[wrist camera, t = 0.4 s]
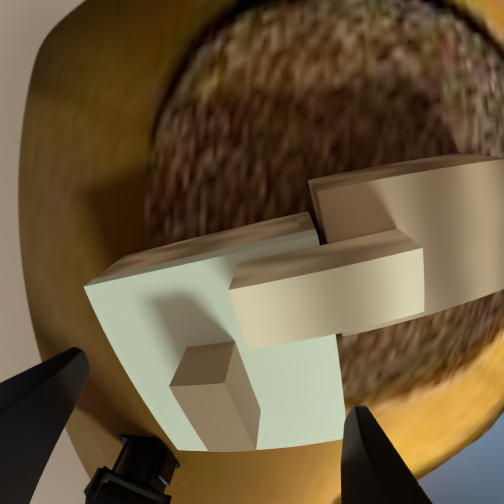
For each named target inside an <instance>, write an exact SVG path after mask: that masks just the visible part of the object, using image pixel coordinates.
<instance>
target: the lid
mask: <svg viewBox="0 0 504 504" xmlns="http://www.w3.org/2000/svg"><path fill="white" fill-rule="evenodd" d="M316 246H320V244H319V239H318V235H317V232H316V229H311V230H307V231H302V232H298V233H293V234H289V235H284V236H280V237H275V238H271V239H266V240H262V241H257V242H253V243H248V244H244V245H239V246H235V247H230V248H226V249H222V250H217V251H213V252H208V253H204V254H199V255H195V256H191V257H186V258H182V259H178V260H173V261H169V262H165V263H160V264H156V265H152V266H147V267H143V268H139V269H134V270H130V271H126V272H122V273H117V274H113V275H109V276H104V277H100V278H96V279H93V280H92V281H90V282H89V283H88V284H87V285H85V286H84V289H85V291H86V293H87V296H88V298H89V300H90V302H91V305H92V307H93V309H94V311H95V313H96V315H97V317H98V320H99V322H100V324H101V326H102V328H103V330H104V332H105V334H106V336H107V338H108V340H109V341H110V343H111V345H112V347H113V349H114V351H115V353H116V355H117V356H118V358H119V360H120V362H121V364H122V365H123V367H124V369H125V371H126V372H127V374H128V376H129V378H130V379H131V381H132V383H133V384H134V386H135V388H136V389H137V391H138V392H139V394H140V396H141V397H142V399H143V400H144V402H145V403H146V405H147V407H148V408H149V410H150V411H151V413H152V414H153V416H154V417H155V419H156V420H157V421H158V423H159V424H160V426H161V427H162V429H163V430H164V432H165V433H166V434H167V436H168V437H169V438H170V440H171V441H172V443H173V444H174V445H175V447H176V448H177V449H178V450H190V451H209V452H236V451H256V450H260V449H273V448H284V447H293V446H301V445H309V444H316V443H322V442H328V441H334V440H339V439H343V431H344V422H345V419H346V418H345V408H344V399H343V390H342V381H341V373H340V365H339V357H338V350H337V343H336V336H335V334H333V335H328V336H323V337H318V338H313V339H308V340H303V341H297V342H292V343H286V344H280V345H274V346H268V347H262V348H255V349H247V346H246V343H245V340H244V337H243V334H242V331H241V328H240V325H239V322H238V319H237V316H236V313H235V310H234V307H233V304H232V301H231V298H230V294H229V291H228V289H229V287H230V284H231V281H232V279H233V276H234V274H235V271H236V269H237V266H238V264H239V263H241V262H246V261H251V260H256V259H260V258H265V257H270V256H274V255H279V254H284V253H288V252H293V251H298V250H302V249H307V248H311V247H316Z"/></svg>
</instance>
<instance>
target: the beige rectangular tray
mask: <svg viewBox="0 0 504 504" xmlns="http://www.w3.org/2000/svg"><path fill="white" fill-rule="evenodd" d="M308 184H309V188H310V193H311V197H312V201H313V206H314V211H315V215H316V220H317V225H318V229H319V234H320V239H321V244H322V245H325V244H330V243H334V242H339V241H343V240H348V239H353V238H357V237H362V236H366V235H371V234H375V233H380V232H384V231H389V230H393V229H399V230H401V231H402V232H403V233H405V234H406V235H407V236H409V237H410V238H411V239H412V240H414V241H415V242H416V243H417V244H419V245H420V246H421V247H422V248H423V261H424V312H421V313H418V314H414V315H411V316H407V317H403V318H400V319H396V320H392V321H388V322H384V323H381V324H377V325H372V326H368V327H364V328H360V329H356V330H351V331H347V332H342V336H343V337H344V336H348V335H353V334H357V333H361V332H365V331H370V330H374V329H378V328H382V327H386V326H389V325H393V324H397V323H401V322H404V321H408V320H412V319H415V318H419V317H422V316H425V315H429V314H432V313H435V312H439V311H442V310H445V309H448V308H451V307H454V306H457V305H460V304H463V303H466V302H469V301H472V300H475V299H478V298H480V297H483V296H486V295H489V294H491V293H494V292H497V291H499V290H502V289H504V158H499V157H491V156H483V155H474V154H464V153H456V154H449V155H442V156H435V157H429V158H422V159H416V160H410V161H404V162H398V163H392V164H386V165H381V166H375V167H370V168H365V169H359V170H354V171H349V172H344V173H339V174H334V175H329V176H325V177H320V178H315V179H311V180H308ZM311 229H315V227H314V224H313V222H312V219H311V217H310V214H309V211H307V212H303V213H298V214H294V215H289V216H285V217H281V218H276V219H272V220H267V221H263V222H259V223H254V224H250V225H246V226H242V227H237V228H233V229H229V230H225V231H221V232H217V233H212V234H208V235H204V236H200V237H196V238H192V239H188V240H184V241H180V242H176V243H172V244H168V245H164V246H160V247H156V248H152V249H149V250H145V251H141V252H137V253H133V254H129V255H126V256H123V257H122V258H121V259H119V260H118V261H117V262H115V263H114V264H113V265H111V266H110V267H109V268H107V269H106V270H105V271H103V272H102V273H101V274H99V275H98V276H97V277H96V278H100V277H104V276H109V275H113V274H117V273H122V272H126V271H130V270H134V269H139V268H143V267H147V266H152V265H156V264H160V263H165V262H169V261H173V260H178V259H182V258H186V257H191V256H195V255H199V254H204V253H208V252H213V251H217V250H222V249H226V248H230V247H235V246H239V245H244V244H248V243H253V242H257V241H262V240H266V239H271V238H275V237H280V236H284V235H289V234H293V233H298V232H302V231H307V230H311ZM96 278H94V279H96Z"/></svg>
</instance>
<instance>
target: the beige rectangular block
mask: <svg viewBox="0 0 504 504" xmlns="http://www.w3.org/2000/svg"><path fill="white" fill-rule="evenodd" d="M228 291H229V294H230V298H231V301H232V304H233V307H234V310H235V313H236V316H237V319H238V322H239V325H240V328H241V331H242V334H243V337H244V340H245V343H246V346H247V349H255V348H262V347H268V346H274V345H280V344H286V343H292V342H297V341H303V340H308V339H313V338H318V337H323V336H328V335H333V334H338V333H342V332H347V331H351V330H356V329H360V328H364V327H368V326H372V325H377V324H381V323H384V322H388V321H392V320H396V319H400V318H403V317H407V316H411V315H414V314H418V313H421V312H424V261H423V248H422V247H421V246H420V245H419V244H417V243H416V242H415V241H414V240H412V239H411V238H410V237H409V236H407V235H406V234H405V233H403V232H402V231H401V230H399V229H393V230H389V231H384V232H380V233H375V234H371V235H366V236H362V237H357V238H353V239H348V240H343V241H339V242H334V243H330V244H325V245H321V246H316V247H311V248H307V249H302V250H298V251H293V252H288V253H284V254H279V255H274V256H270V257H265V258H260V259H256V260H251V261H246V262H241V263H239V264H238V266H237V269H236V271H235V274H234V276H233V279H232V281H231V284H230V287H229V289H228Z"/></svg>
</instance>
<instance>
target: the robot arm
mask: <svg viewBox="0 0 504 504" xmlns="http://www.w3.org/2000/svg"><path fill="white" fill-rule="evenodd" d="M89 371H90V365H89V362H88V359H87V356H86V353H85V351H84V350H82V349H80V348H77V347H72V348H70V349H68V350H66V351H64V352H62V353H60V354H58V355H56V356H54V357H52V358H50V359H48V360H46V361H44V362H42V363H40V364H38V365H36V366H34V367H32V368H30V369H28V370H26V371H24V372H22V373H20V374H17V375H16V376H14V377H11V378H9V379H7V380H5V381H3V382H1V383H0V504H29V503H30V501H31V498H32V496H33V494H34V491H35V489H36V486H37V484H38V482H39V479H40V477H41V475H42V473H43V470H44V468H45V466H46V464H47V462H48V460H49V458H50V455H51V453H52V451H53V449H54V447H55V445H56V443H57V441H58V439H59V437H60V435H61V433H62V431H63V429H64V427H65V425H66V423H67V421H68V419H69V417H70V415H71V413H72V411H73V409H74V407H75V405H76V403H77V401H78V398H79V396H80V393H81V391H82V388H83V386H84V384H85V381H86V379H87V376H88V374H89ZM118 439H119V440H120V441H121V443H122V444H123V445H124V446H123V448H122V450H121V452H120V454H119V456H118V458H117V460H116V462H115V464H114V466H113V468H112V470H110V469H108V467H106V466H104V467H103V468H98V469H97V471H96V473H95V475H94V476H93V478H92V480H91V481H90V483H89V484H88V485H87V487H86V488H85V490H84V494H85V496H86V499H85V500H86V502H85V504H170V501H171V497H172V496H170V495H166V494H164V491H165V488H166V486H169V485H170V482H171V479H172V476H173V473H174V470H175V468H180V464H179V463H178V461H177V460H176V459H175V458H174V457H173V455H172V454H171V453H170V451H169V450H168V449H167V448H166V446H165V445H164V444H163V442H162V441H161V440H159V439H156V438H143V437H133V436H125V435H119V437H118ZM418 485H419V483H418V482H417V480H416V479H415V477H414V476H413V474H412V473H411V471H410V470H409V468H408V467H407V465H406V464H405V462H404V461H403V459H402V458H401V456H400V455H399V453H398V452H397V450H396V449H395V448H394V446H393V445H392V443H391V442H390V440H389V439H388V437H387V436H386V434H385V433H384V431H383V430H382V428H381V427H380V425H379V424H378V422H377V421H376V419H375V418H374V416H373V415H372V413H371V412H370V410H369V409H368V408H367V407H366V406H364V405H354V406H353V407H352V408H351V410H350V412H349V414H348V415H347V417H346V419H345V422H344V431H343V444H342V456H341V504H433V503H432V502H431V501H430V499H429V498H428V496H427V495H426V494H425V492H424V491H423V489H422V488H421V486H420V485H419V486H418Z"/></svg>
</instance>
